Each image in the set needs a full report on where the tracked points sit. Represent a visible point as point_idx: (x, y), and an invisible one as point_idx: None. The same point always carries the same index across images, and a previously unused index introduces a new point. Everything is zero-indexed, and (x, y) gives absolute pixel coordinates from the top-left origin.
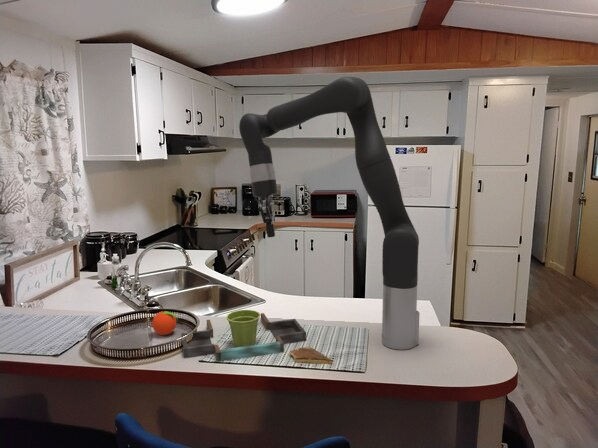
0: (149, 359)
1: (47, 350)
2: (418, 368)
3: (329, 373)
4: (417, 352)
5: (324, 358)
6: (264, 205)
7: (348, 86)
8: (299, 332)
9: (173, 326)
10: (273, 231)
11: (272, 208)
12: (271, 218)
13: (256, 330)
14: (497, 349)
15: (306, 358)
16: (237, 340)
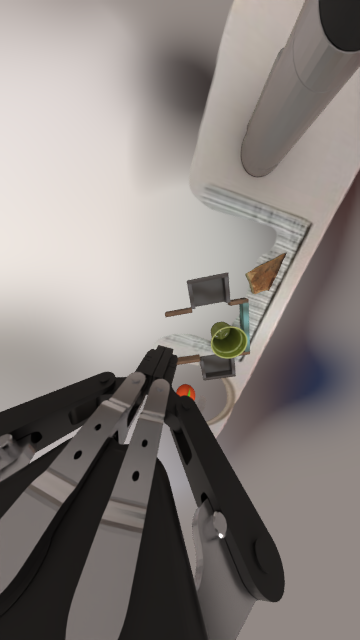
0: (228, 390)
1: None
2: (331, 148)
3: (299, 260)
4: None
5: (278, 261)
6: (243, 613)
7: None
8: (226, 280)
9: (190, 387)
10: (168, 359)
11: (130, 485)
12: (182, 414)
13: (229, 325)
14: None
15: (272, 279)
16: (231, 339)
